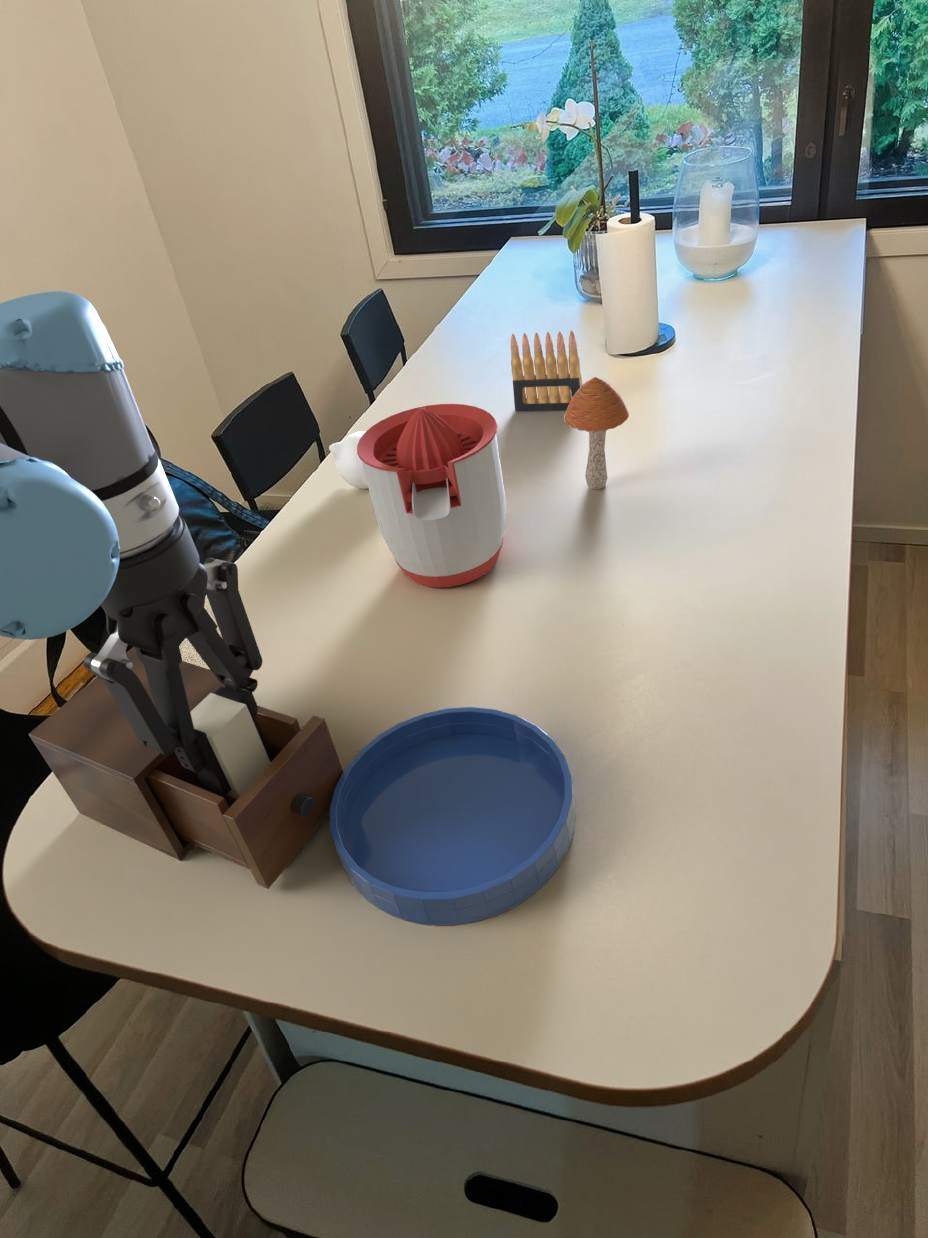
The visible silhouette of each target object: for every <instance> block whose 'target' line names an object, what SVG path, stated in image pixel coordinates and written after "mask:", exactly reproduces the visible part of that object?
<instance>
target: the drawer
mask: <svg viewBox="0 0 928 1238" xmlns="http://www.w3.org/2000/svg"><path fill="white" fill-rule="evenodd" d="M257 706H258V713H257V714H256V715H255V716H254V717H255V719H256V722H257V724H258V726H259V729H260V731H261V734H262V736H263V738H264V741H265V743H266V746H267V748H268V751H267V752H266V753H267V756H268V758H269V760H270V764H269V765H268V766H267V767H266V768H265V769H264V771H263V772H262V773H261V774H260V775H259V776H258V777H257V778H256V779H255V780H254V781H253V783H252V784H251V785H250V786H249V787H248V788H247V789H246V790H245V791H244V792H243V794H242V795H241V796H240V797H239V798H238V799H234V798H232V797H229V796H227V795H223V794H221V793H218V792H216V791H214V790H211V789H209V788H206V787H204V786H202V784H201V782H200V780H199V778H198V776H197V774H196V772H193V771H191V770H188V769H186V768H184V767H183V766H182V765H181V763H180V762H179V760H178V757H177V756H176V754H175V752H174V753H173V754H171V755H169V756H167V757H166V758H165V759H164V760H163V761H162V762H161V763H160V764H159V765H158V766H157V767H156V768H155V769H154V770H153V771H152V772H151V773H150V774H148V775H147V776H146V777H145V778H144V779H145V781H146V783H147V785H148V786H149V788H150V790H151V792H152V794H153V795H154V797H155V799H156V801H157V802H158V804H159V806H160V808H161V810H162V811H163V813H164V815H165V817H166V818H167V820H168V822H169V824H170V825H171V827H172V829H173V831H174V833H175V834H176V836H177V837H179V838H181V839H183V840H185V841H188V842H190V843H192V844H194V845H195V846H196V847H198V848H201V849H203V850H204V851H207V852H210V853H212V854H213V855H216V856H218V857H221V858H223V859H225V860H227V861H229V862H231V863H233V864H236V865H238V866H240V867H242V868H244V869H247V870H249V871H250V872H251V874H252V875H253V879H254V881H255V882H256V884H257V886H259V887H262V888H265V889H266V890H269V889H270V888H271V887H272V886H273V884H274V883H275V882H276V881H277V879H278V878H279V877H280V876H281V874H283V872H284V871H285V869H286V868H287V867H288V866H289V864H290V863H291V862H292V861H293V860H294V858H295V857H296V856H297V855H298V853H299V852H300V851H301V849H303V847H304V846H305V845H306V844H307V842H308V841H309V840H310V838H311V837H312V836H313V835H314V834H315V832H316V831H317V830H318V829H319V828H320V827H321V825H322V824H323V823H324V822H325V820H326V819H327V818H328V816H330V806H331V802H332V798H333V794H334V790H335V787H336V785H337V783H338V781H339V779H340V777H341V775H342V774H343V772H344V769H343V766H342V764H341V761H340V758H339V755H338V752H337V750H336V746H335V744H334V741H333V739H332V736H331V732H330V730H329V727H328V724H327V721H326V719H325V718H323V717H321V716H318V715H312V717H311V718H310V719H309V720H308V721H307V722H306V723H305V724H304V725H303V726H302V728H301V725H300V723H299V720H298V718H296V717H294V716H290V715H287V714H284V713H281V712H278V711H275V710H272V709H269V708H267V707H263V706H260V705H257Z"/></svg>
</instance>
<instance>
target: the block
mask: <svg viewBox="0 0 928 1238" xmlns="http://www.w3.org/2000/svg"><path fill="white" fill-rule="evenodd" d="M190 713H191V717H192V721H193V726H194V729H196V730H199V731H202V732H205V733H206V735H207V738H208V740H209V743H210V745H211V747H212V749H213V751H214V753H215V755H216V757H217V759H218V762H219V764H220V766H221V768H222V770H223V772H224V774H225V776H226V778H227V781H228V783H229V785H230V787H231V789H232V790H231V791H230V792H229V793H228V794H227V796H229V797H232V798H234V799H238V798H239V797H240V796H241V795H242V794H243V792H244V791H245V790H246V789H247V788H248V787H249V786H250V785H251V784H252V783H253V781H254V780H255V779H256V778H257V777H258V776H259V775H260V774H261V773H262V772H263V771H264V769H265V768H266V767H267V766H268V765H269V764H270V760H269V758H268V756H267V753H266V751H265V748H264V746H263V744H262V741H261V739H260V737H259V734H258V732H257V729H256V727H255V725H254V722H253V720H252V718H251V715H250V713H249V710H248V708H247V706H246V704H243V703H239V702H236V701H233V700H230V699H227V698H224V697H221V696H218V695H216V694H213V693H210V694H209V695H208V696H207V697H206V698H205V699H204V700H203V701H201V702H200V703H199V704H198V705H197V706H196V707H195V708H194V709H193V710H192V711H191V712H190Z"/></svg>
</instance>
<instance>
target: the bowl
mask: <svg viewBox="0 0 928 1238" xmlns="http://www.w3.org/2000/svg"><path fill="white" fill-rule="evenodd" d="M575 806H576V805H575V793H574V784H573V777H572V773H571V770H570V768H569V765H568V762H567V759H566V756H565V754H564V753H563V751H561V749H560V747H559V746H558V745H557V744H556V742H555V741H554V739H553V738H552V737H550V736H549V735H548V734H547V733H546V732H545V731H544V730H542V729H541V728H540V727H538V726H537V724H534V723H532V722H530V721H528V720H526V719H524V718H523V717H520V716H519V715H516V714H512V713H509V712H506V711H502V710H498V709H494V708H485V707H477V706H476V707H475V706H474V707H473V706H466V707H464V706H463V707H448V708H443V709H442V708H441V709H438V710H433V711H429V712H424V713H421V714H419V715H416V716H414V717H410V718H408V719H406V720H404V721H401V722H398V723H397V724H395V725H393V726H391V727H389V728H388V729H386V730H385V731H383V732H381V733H379V734H378V735H377V736H375V737H374V738H373V739H372V740H371V741H370V742H368V743H367V744H366V745H365V746H364V747H362V748H361V749H360V750H359V751H358V752H357V753H356V755H355V756H354V757H353V758H352V759H351V760H350V762H349V763H348V764H347V765H346V767H345V768H344V769H343V774H342V775H341V777H340V779H339V781H338V783H337V785H336V787H335V790H334V794H333V798H332V802H331V806H330V814H329V831H330V834H331V837H332V840H333V843H334V846H335V849H336V852H337V854H338V857H339V859H340V862H341V864H342V868H343V869H344V872H345V874H346V875H347V877H348V879H349V881H350V882H351V884H352V885H353V887H354V888H355V889H356V891H357V892H358V893H359V894H360V895H361V896H362V897H363V898H364V899H365V900H366V901H367V902H368V903H370V904H371V905H373V906H374V907H376V908H377V909H378V910H381V911H382V912H384V913H386V914H387V915H390V916H392V917H395V918H398V919H400V920H403V921H406V922H410V923H414V924H420V925H427V926H439V927H441V926H457V925H458V926H459V925H464V924H465V925H466V924H472V923H476V922H480V921H482V920H486V919H490V918H493V917H495V916H497V915H501V914H503V913H505V912H508V911H509V910H510V909H512V908H515V907H516V906H518V905H521V903H523V902H525V901H526V900H527V899H529V898H530V897H532V896H533V895H534V894H536V892H538V891H539V890H540V889H541V888H542V887H543V886H544V885H545V884H547V882H548V881H549V880H550V879H551V878H552V876H554V874H556V872H557V871H558V869H559V867H560V866H561V864H562V863H563V862H564V860H565V858H566V855H567V853H568V851H569V848H570V847H571V843H572V839H573V836H574V833H575V826H576V808H575Z"/></svg>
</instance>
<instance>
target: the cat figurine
mask: <svg viewBox="0 0 928 1238" xmlns="http://www.w3.org/2000/svg"><path fill="white" fill-rule="evenodd" d="M365 432H366V431H363V430H361V431H356V432H353V433H350V434H349V435H348V436H346V437H345V438H344V439H343V440H342V441H338V442H334V443H331V444H330V445H329V446H328V450H329V451H330V453H331V454H332V455H333V457H334V463H335V464H334V465H335V468H336V470H337V472H338V475H339V476H340V477H341V478H342V479H343V480H344V481H345V482H346V483H347V484H348V485H350V486H352V487H354V488H356V489H363V490H366V489H369V487H368V483H367V479H366V475H365V471H364V467H363V464H362V460H361V459H360V458H359V456H358V454H357V445H358V442H359V440H360V438H361V437H362V435H363V434H364V433H365Z"/></svg>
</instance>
